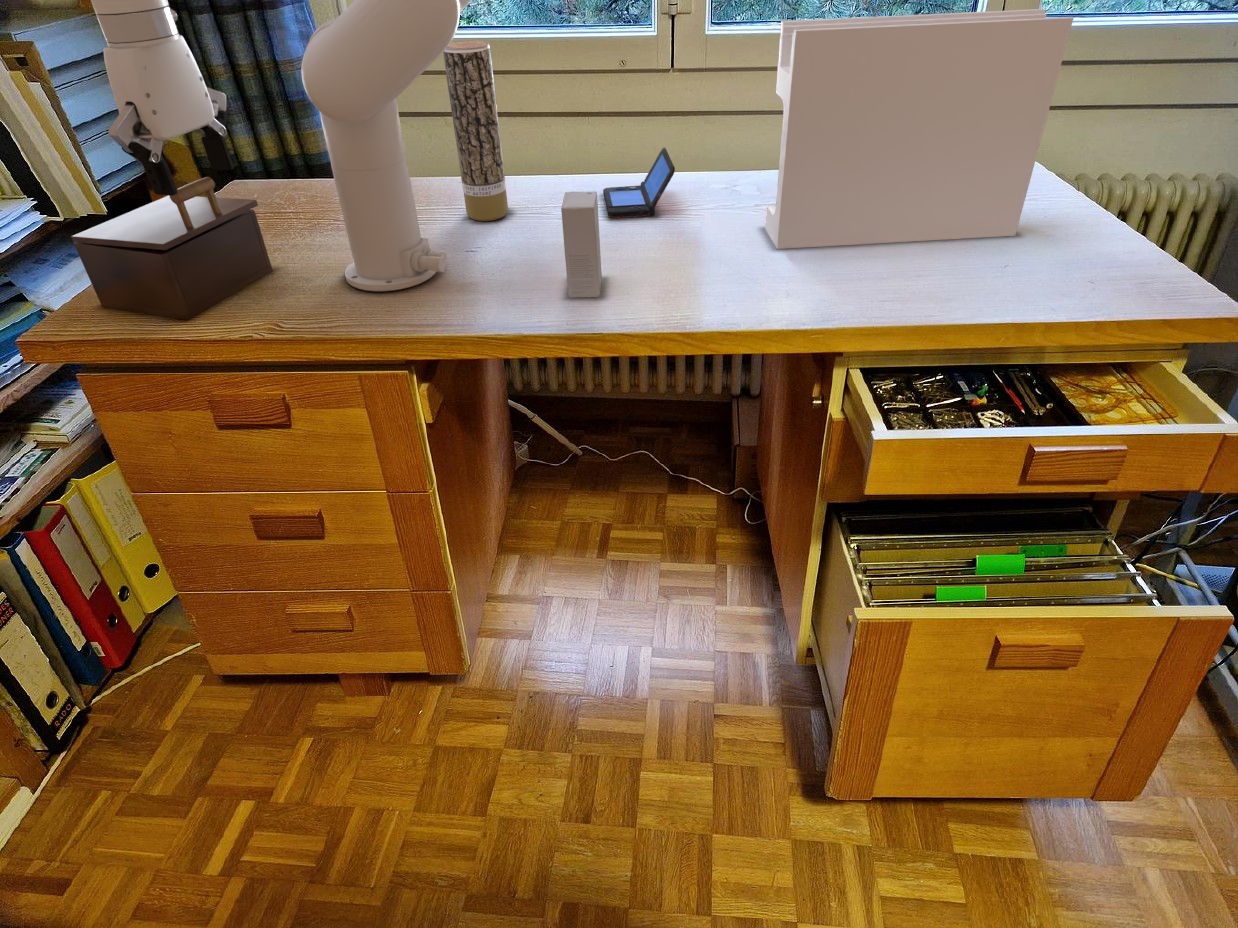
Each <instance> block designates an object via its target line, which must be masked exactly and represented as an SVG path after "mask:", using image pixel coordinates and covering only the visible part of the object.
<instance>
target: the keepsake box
mask: <svg viewBox="0 0 1238 928" xmlns="http://www.w3.org/2000/svg"><path fill="white" fill-rule="evenodd" d="M73 245H74V247H75V249H76V251H77V254H78V256H79V258H80V259H79V260H80V261H81V263H82V266H83V267H84V270H85V272H86V274H87V276H88V278H89V281H90V283H91V285H92V288H93V289H94V291H95V294H96V297H97V300H98V301H99V303H100V305H101V307H103V308H110V309H115V310H122V311H127V312H133V313H134V312H135V313H139V314H145V315H152V316H157V317H164V318H170V319H176V320H181V321H189V320H191V319H193V318H194V317H196V316H197V315H199V314H200V313H202V312H204V311H206V310H208V309H210V308H211V307H213V306H214V305H216V304H217V303H219V302H221V301H223V300H224V299H226V298H228V297H230V296H232V295H233V294H235V293H236V292H239V291H240V290H242V289H244V288H245V287H247V286H248V285H250V284H252V283H254V282H255V281H257V280H259V279H261V278H262V277H264V276H266V275H268V274H269V273H271V272H273V270H274V269H273V266H272V264H271V260H270V255H269V253H268V250H267V247H266V243H265V240H264V236H263V233H262V231H261V227H260V224H259V221H258V217H257V214H256V210H255V209H250V210H248V211H246V212H244V213H242V214H240V215H237V216H235V217H233V218H231V219H229V220H227V221H225V222H223V223H221V224H219V225H217V226H215V227H213V228H211V229H209V230H207V231H204V232H202V233H200V234H198V235H196V236H194V237H192V238H190V239H188V240H186V241H184V242H182V243H180V244H178V245H176V246H173V247H171V248H169V249H167V250H157V249H145V248H133V247H122V246H110V245H99V244H87V243H76V242H73Z"/></svg>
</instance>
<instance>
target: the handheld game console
mask: <svg viewBox="0 0 1238 928" xmlns="http://www.w3.org/2000/svg"><path fill="white" fill-rule="evenodd" d="M675 171H676V168H675V166H674V163H673V161H672V159H671V156H670V154H669V153H668V150H667V148H666V147H662V148H661V150H660V151H659V153H658V155H657V156H656V159H655V160H654V162H653V164H652V166H651V167H650V169H649V171H648V173H647V174H646V176H645V179H644V180H643V181H641V182H640V184H639V185H628V186H627V185H626V186H612V187H611V186H610V187H609V186H608V187H605V188H603V189H602V194H603V200H604V203H605V208H606V212H607V216H608V217H609V218H613V219H618V218H633V217H649V216H650V217H653V216H655V207H656V205H657V204H658V202H659V201H660V200H661V197H662V195H663V194H664V192H665V190H666V189H667V187H668V185H669V183H670V181H671V180H672V178H673V177H674V174H675Z"/></svg>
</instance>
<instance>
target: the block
mask: <svg viewBox="0 0 1238 928" xmlns="http://www.w3.org/2000/svg"><path fill="white" fill-rule="evenodd" d="M1046 11H1047V10H1046V9H1044V8H1034V9H1013V10H1012V9H1011V10H1010V9H1009V10H989V11H967V12H948V13H947V12H946V13H945V12H944V13H926V14H925V13H924V14H923V13H922V14H904V15H903V14H901V15H884V16H883V15H882V16H860V17H841V18H840V17H839V18H838V17H837V18H818V19H801V20H800V19H798V20H781V21H780V36H779V46H778V60H777V69H776V70H777V71H776V72H777V74H776V83H775V85H776V86H775V94H776V95H777V96H778V97H779V98H780V99H781V101H782V104H783V105H782V107H783V108H782V109H783V114H782V127H781V137H780V151H779V163H778V172H777V173H778V174H777V183H776V196H775V197H776V198H775V205H766V215H765V227H764V229H765V231H766V233H767V235H768V236H769V238H770V240H771V241H772V243H773V245H774V247H775V248H776V250H782V249H783V250H784V249H785V250H786V249H801V248H822V247H837V246H855V245H875V244H890V243H893V244H894V243H909V242H912V243H913V242H927V241H944V240H946V241H948V240H965V239H981V238H999V237H1015V236H1016V235H1017V231H1018V227H1019V224H1020V220H1021V217H1022V212H1023V209H1024V205H1025V201H1026V197H1027V193H1028V190H1029V186H1030V182H1031V178H1032V175H1033V171H1034V167H1035V163H1036V161H1037V157H1038V152H1039V148H1040V145H1041V142H1042V137H1043V134H1044V131H1045V126H1046V123H1047V119H1048V115H1049V111H1050V107H1051V104H1052V101H1053V97H1054V92H1055V89H1056V87H1057V81H1058V78H1059V74H1060V70H1061V67H1062V63H1063V59H1064V55H1065V51H1066V48H1067V44H1068V40H1069V36H1070V33H1071V30H1072V26H1073V21H1074V17H1072V16H1061V17H1058V16H1057V17H1047V14H1046Z"/></svg>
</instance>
